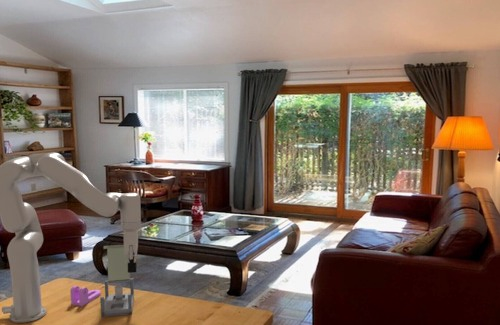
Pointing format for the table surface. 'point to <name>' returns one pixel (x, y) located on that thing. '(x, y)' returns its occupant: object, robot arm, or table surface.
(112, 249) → the lid
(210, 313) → the table surface
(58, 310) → the table surface
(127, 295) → the housing
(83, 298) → the bracket
